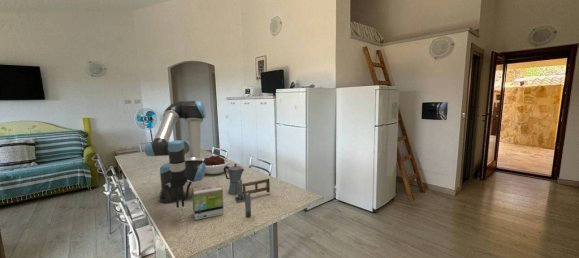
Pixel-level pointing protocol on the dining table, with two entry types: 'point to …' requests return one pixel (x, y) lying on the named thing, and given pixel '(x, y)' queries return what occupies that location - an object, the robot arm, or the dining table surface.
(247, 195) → the gate posts
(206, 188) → the tea box
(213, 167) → the bowl of brown food
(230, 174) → the moka pot
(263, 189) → the gate
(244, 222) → the dining table surface
